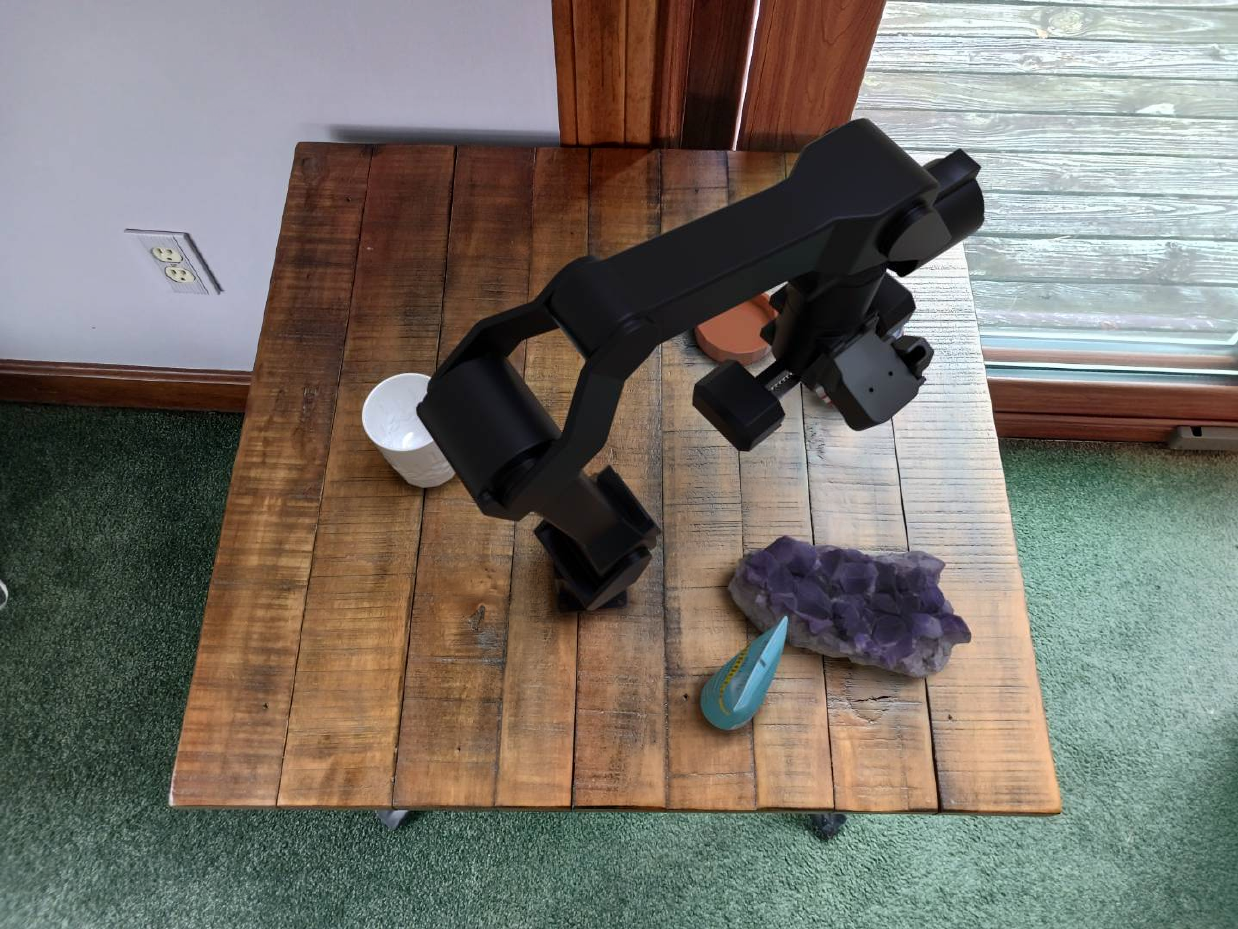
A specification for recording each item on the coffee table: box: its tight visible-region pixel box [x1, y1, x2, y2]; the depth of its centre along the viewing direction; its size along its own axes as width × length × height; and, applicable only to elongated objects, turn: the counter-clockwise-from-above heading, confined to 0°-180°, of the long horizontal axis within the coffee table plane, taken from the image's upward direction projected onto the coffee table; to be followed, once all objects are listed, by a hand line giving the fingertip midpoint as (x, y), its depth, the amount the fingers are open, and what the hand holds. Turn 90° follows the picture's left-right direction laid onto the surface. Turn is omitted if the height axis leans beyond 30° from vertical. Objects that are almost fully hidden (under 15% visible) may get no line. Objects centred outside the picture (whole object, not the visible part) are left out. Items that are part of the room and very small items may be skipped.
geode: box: [726, 534, 972, 680], centre depth 71 cm, size 20×12×10 cm, turn 80°
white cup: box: [361, 372, 456, 489], centre depth 76 cm, size 8×8×10 cm
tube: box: [700, 616, 788, 731], centre depth 63 cm, size 7×5×19 cm, turn 152°
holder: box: [694, 292, 778, 366], centre depth 86 cm, size 9×9×2 cm
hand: (785, 402), depth 69 cm, fingers open, 9 cm apart
